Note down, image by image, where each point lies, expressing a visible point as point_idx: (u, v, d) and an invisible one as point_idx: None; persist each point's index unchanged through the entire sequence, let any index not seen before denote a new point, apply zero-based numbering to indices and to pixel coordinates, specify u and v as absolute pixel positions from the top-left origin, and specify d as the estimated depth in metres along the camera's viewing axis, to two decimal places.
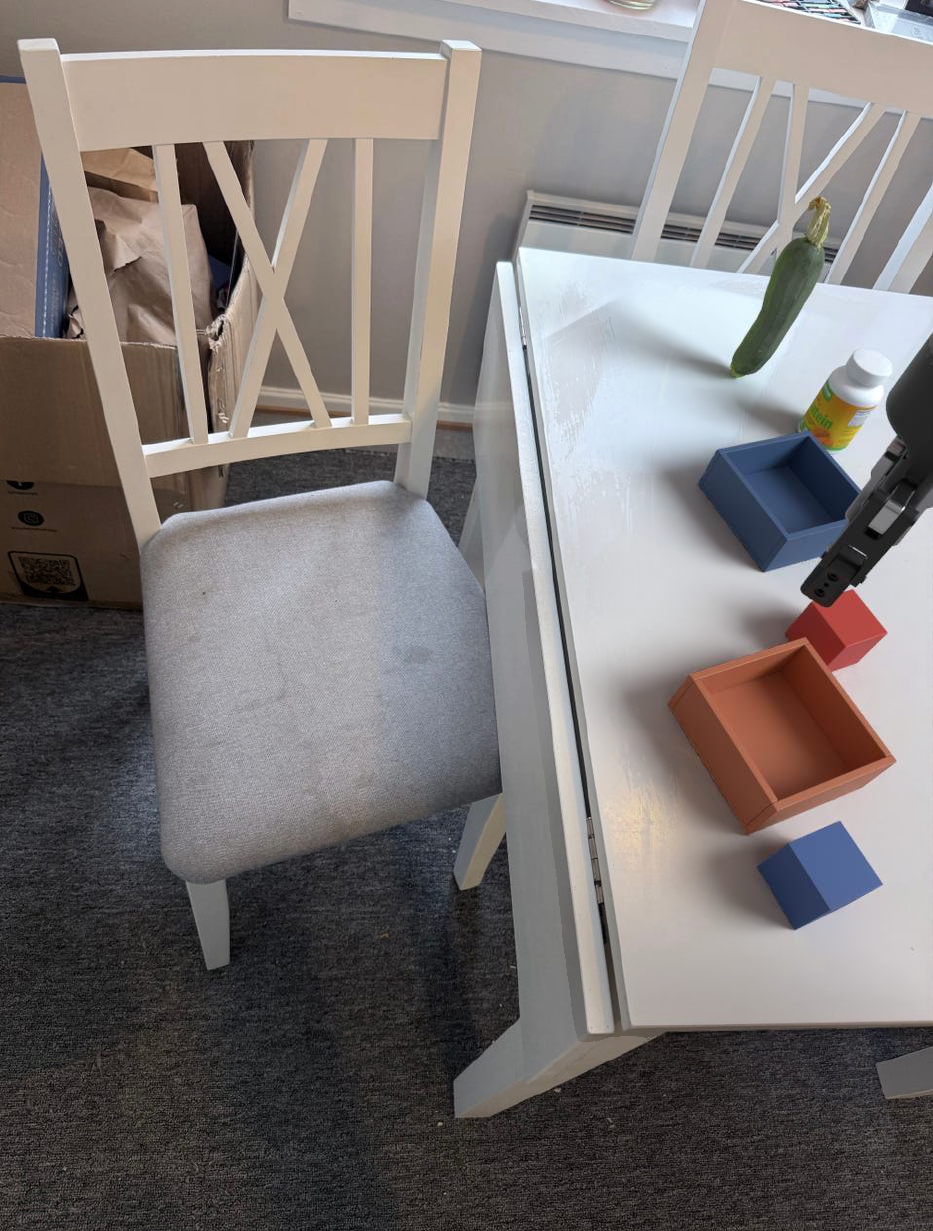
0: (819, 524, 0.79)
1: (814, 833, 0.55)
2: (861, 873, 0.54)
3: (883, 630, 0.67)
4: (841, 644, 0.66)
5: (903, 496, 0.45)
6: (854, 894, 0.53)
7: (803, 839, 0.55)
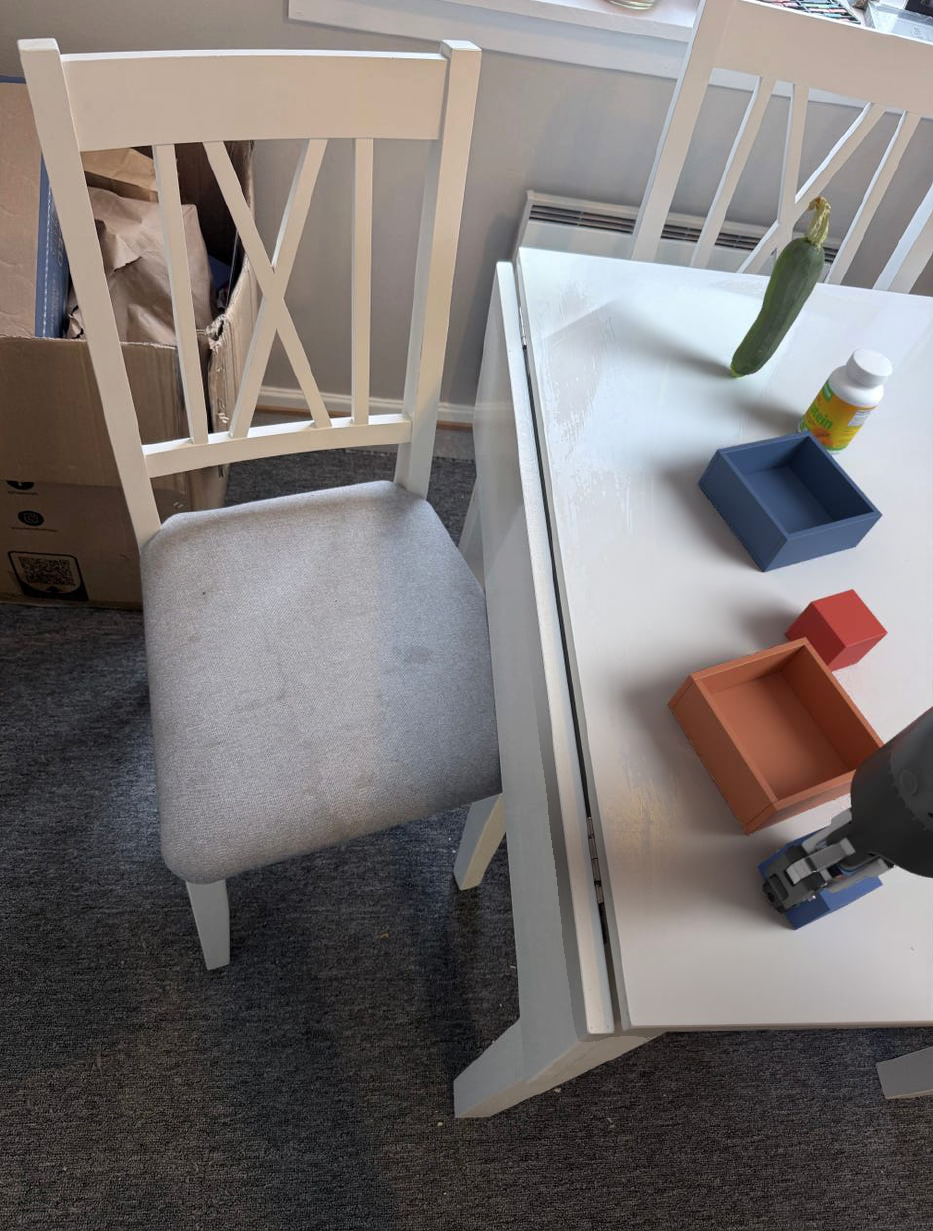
0: (819, 524, 0.79)
1: (814, 833, 0.55)
2: None
3: (883, 630, 0.67)
4: (841, 644, 0.66)
5: (821, 861, 0.48)
6: (854, 894, 0.53)
7: (803, 839, 0.55)
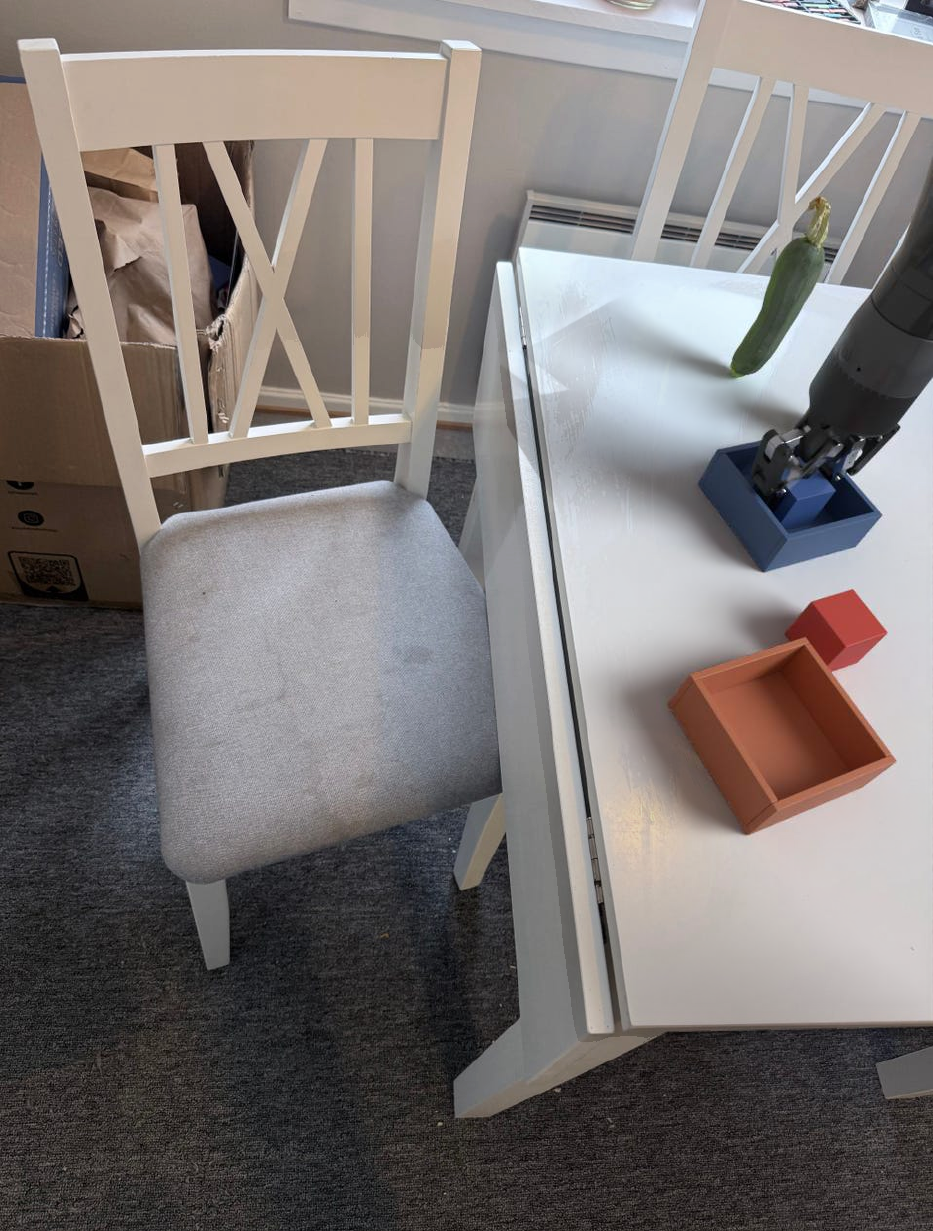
0: (819, 524, 0.79)
1: None
2: (820, 483, 0.75)
3: (883, 630, 0.67)
4: (841, 644, 0.66)
5: (789, 437, 0.69)
6: (814, 493, 0.74)
7: None
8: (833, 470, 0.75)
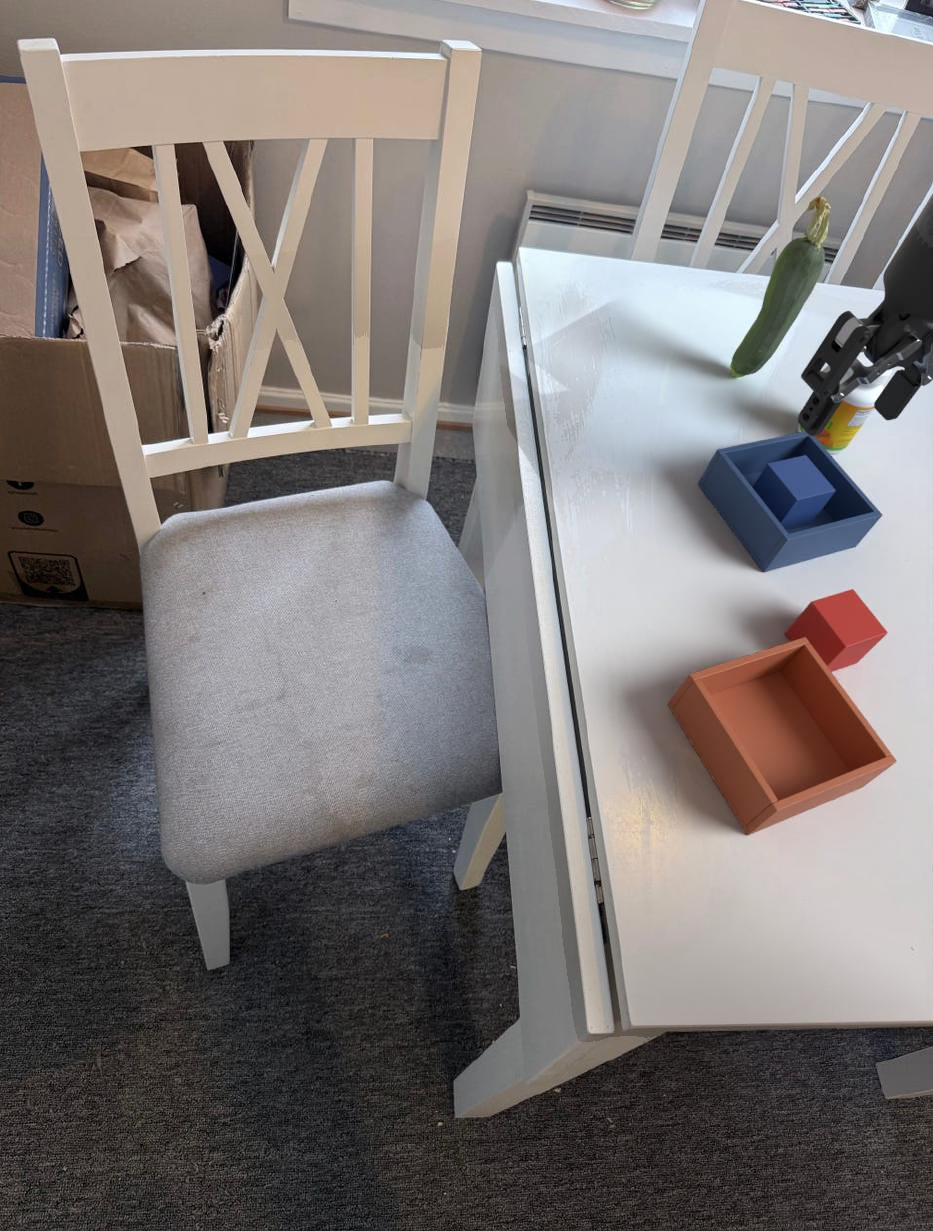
0: (819, 524, 0.79)
1: (787, 460, 0.77)
2: (820, 483, 0.75)
3: (883, 630, 0.67)
4: (841, 644, 0.66)
5: (867, 323, 0.60)
6: (814, 493, 0.74)
7: (778, 462, 0.76)
8: None
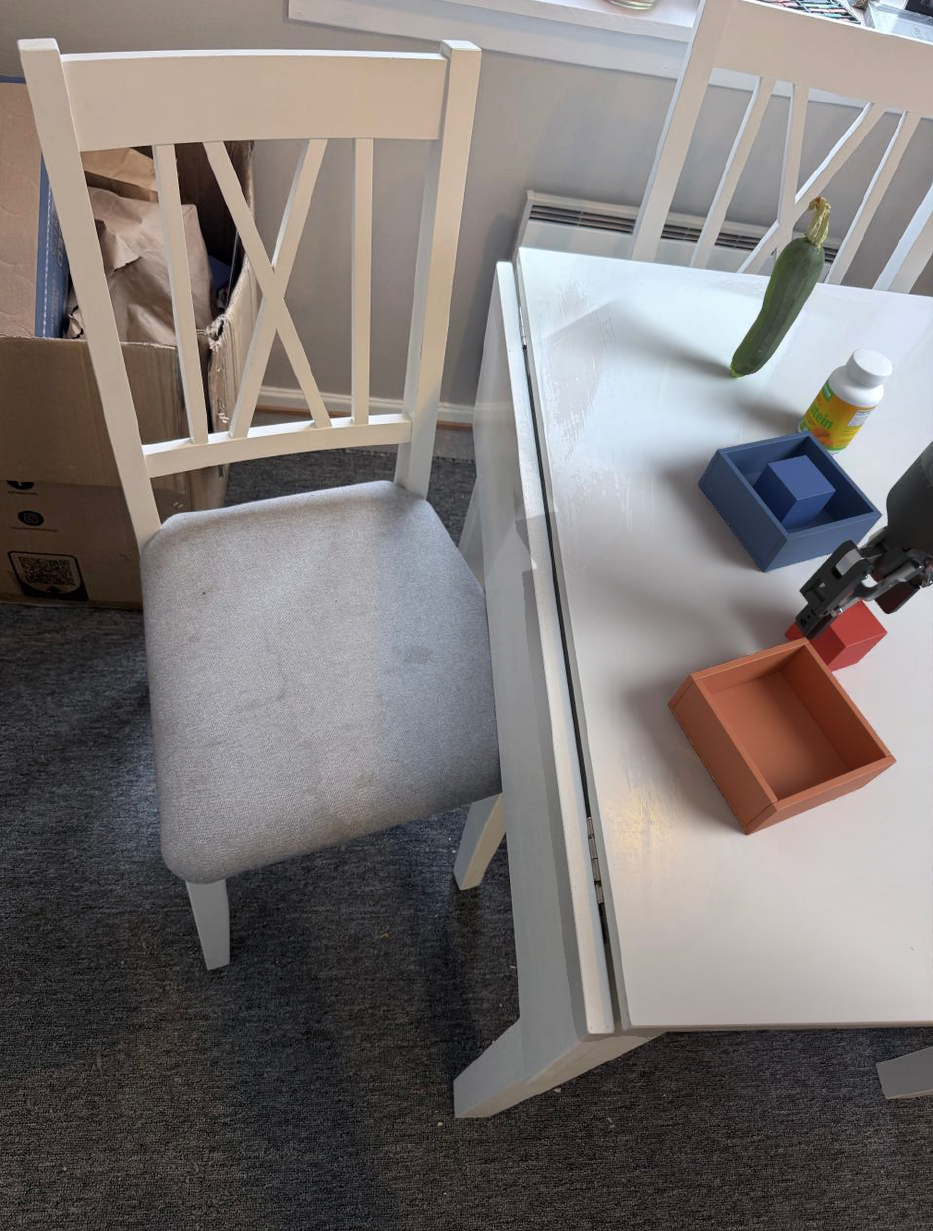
0: (819, 524, 0.79)
1: (787, 460, 0.77)
2: (820, 483, 0.75)
3: (883, 630, 0.67)
4: (841, 644, 0.66)
5: (869, 553, 0.58)
6: (814, 493, 0.74)
7: (778, 462, 0.76)
8: None
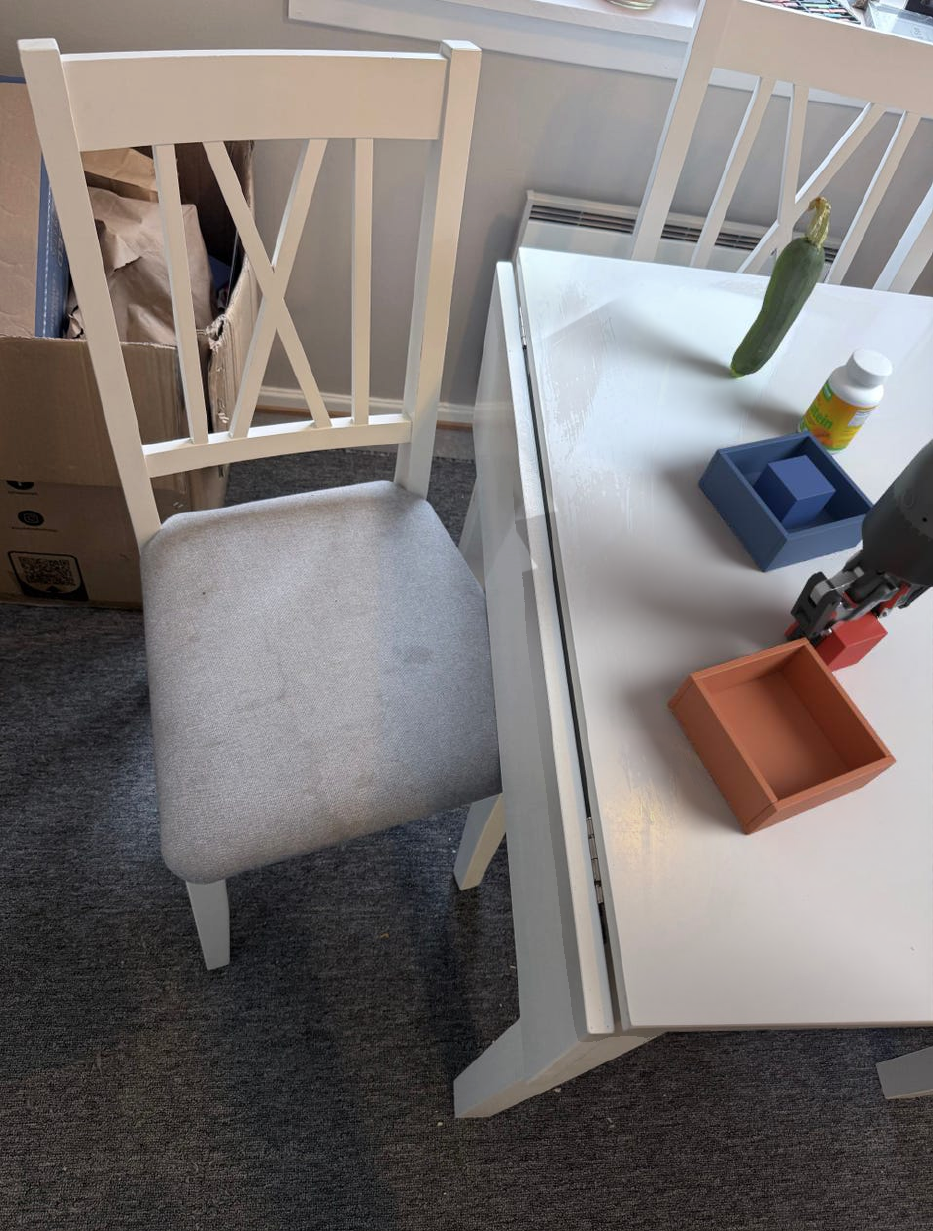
0: (819, 524, 0.79)
1: (787, 460, 0.77)
2: (820, 483, 0.75)
3: (883, 630, 0.67)
4: (841, 645, 0.66)
5: (838, 582, 0.61)
6: (814, 493, 0.74)
7: (778, 462, 0.76)
8: (882, 606, 0.67)
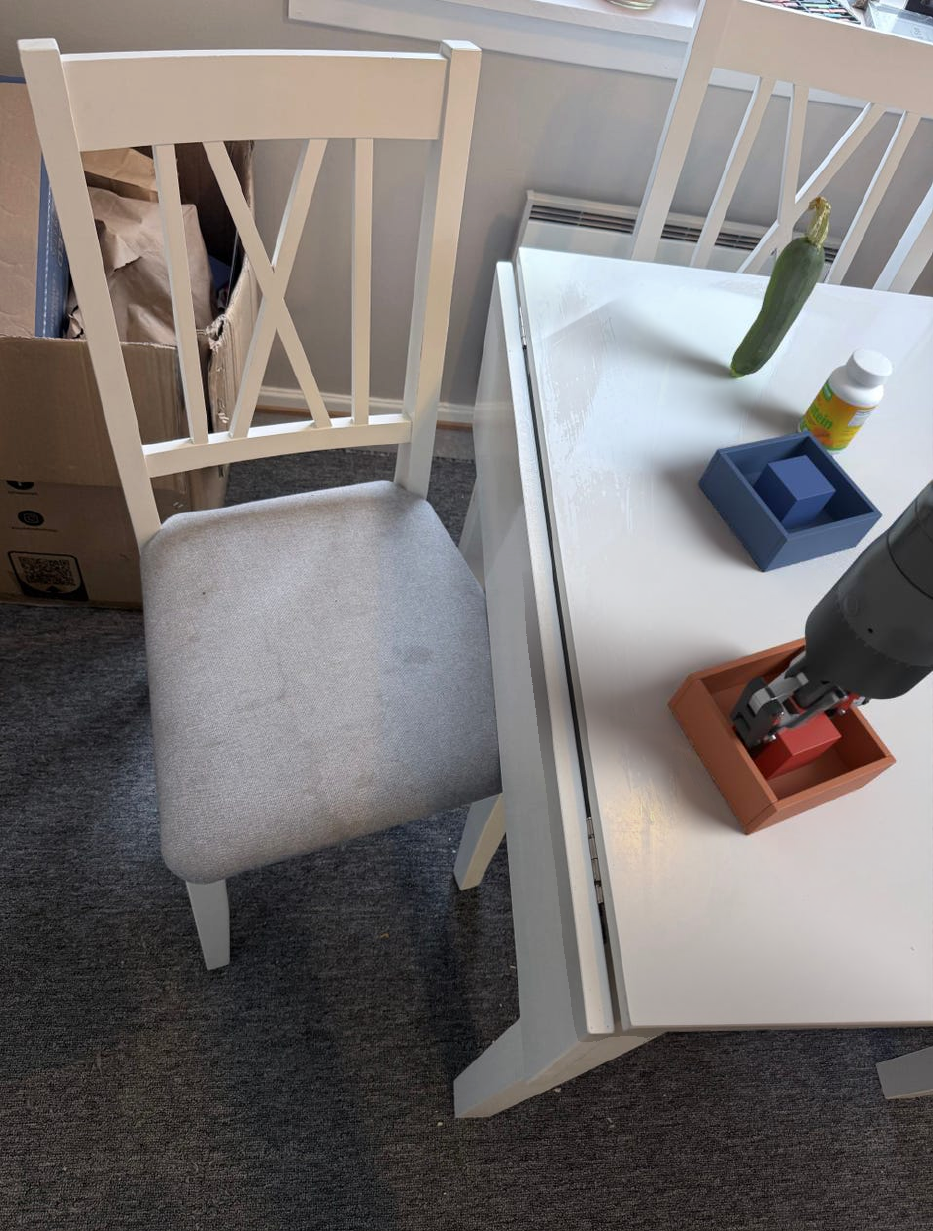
0: (819, 524, 0.79)
1: (787, 460, 0.77)
2: (820, 483, 0.75)
3: (836, 733, 0.60)
4: (788, 752, 0.58)
5: (779, 691, 0.53)
6: (814, 493, 0.74)
7: (778, 462, 0.76)
8: None
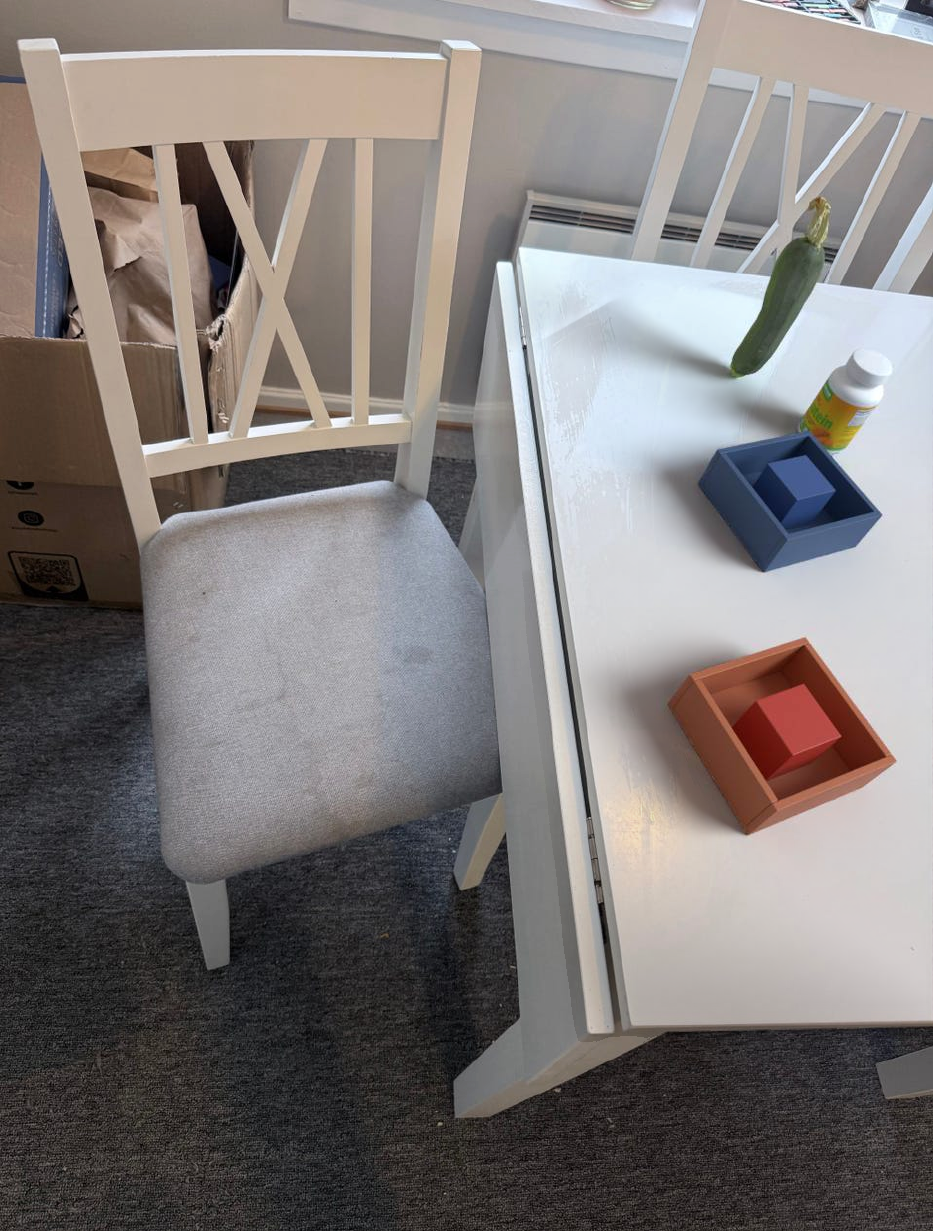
0: (819, 524, 0.79)
1: (787, 460, 0.77)
2: (820, 483, 0.75)
3: (836, 733, 0.60)
4: (788, 752, 0.58)
5: None
6: (814, 493, 0.74)
7: (778, 462, 0.76)
8: None
